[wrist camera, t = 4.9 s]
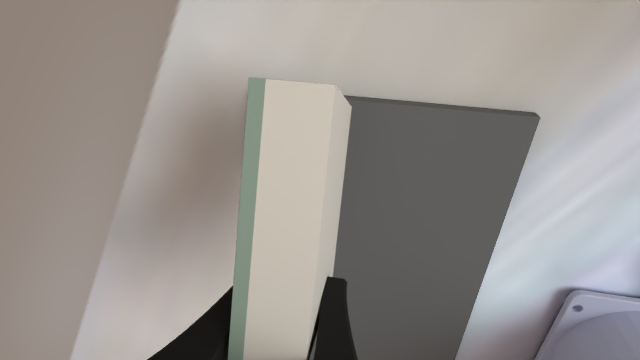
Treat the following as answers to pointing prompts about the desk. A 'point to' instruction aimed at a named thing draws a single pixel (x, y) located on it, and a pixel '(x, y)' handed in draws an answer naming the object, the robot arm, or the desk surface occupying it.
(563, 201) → the desk surface
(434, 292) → the mat
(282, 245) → the tile
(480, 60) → the desk surface
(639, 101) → the desk surface
